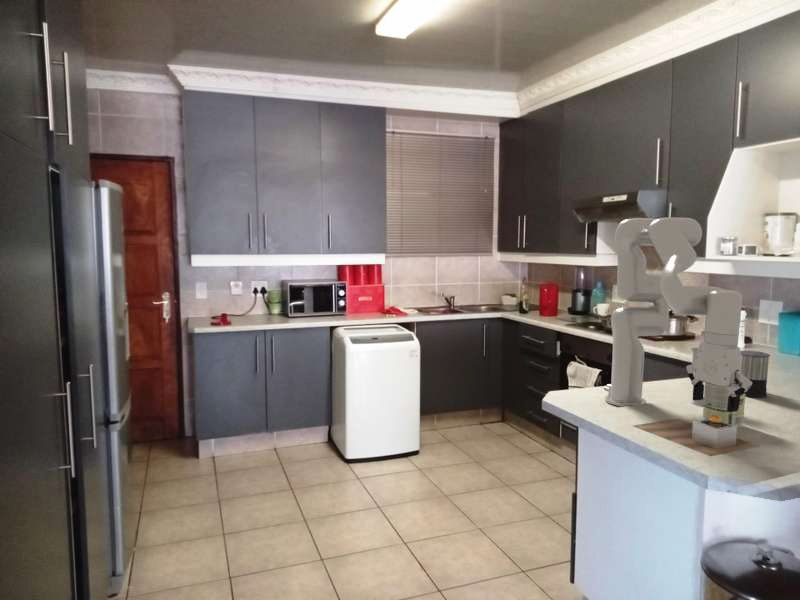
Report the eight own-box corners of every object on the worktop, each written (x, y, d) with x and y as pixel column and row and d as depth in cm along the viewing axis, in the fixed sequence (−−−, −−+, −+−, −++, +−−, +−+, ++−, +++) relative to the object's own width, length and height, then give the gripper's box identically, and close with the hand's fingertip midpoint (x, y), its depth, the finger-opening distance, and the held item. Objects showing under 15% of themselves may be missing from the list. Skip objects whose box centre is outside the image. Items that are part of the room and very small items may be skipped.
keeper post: (705, 441, 143) (707, 413, 143) (712, 440, 144) (714, 412, 144) (715, 445, 141) (717, 416, 140) (722, 443, 142) (724, 415, 141)
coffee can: (706, 419, 167) (709, 372, 166) (746, 426, 160) (750, 378, 159) (697, 427, 160) (700, 378, 158) (738, 435, 153) (742, 385, 151)
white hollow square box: (691, 439, 145) (692, 421, 144) (710, 436, 147) (711, 418, 147) (716, 449, 138) (718, 429, 138) (735, 445, 141) (737, 426, 140)
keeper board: (632, 430, 156) (632, 425, 155) (678, 423, 163) (678, 418, 163) (710, 462, 134) (710, 455, 134) (759, 451, 141) (760, 445, 141)
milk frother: (771, 399, 190) (775, 356, 189) (720, 396, 194) (723, 353, 192) (754, 388, 204) (758, 348, 203) (707, 385, 208) (710, 346, 206)
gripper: (680, 334, 146) (675, 397, 149) (743, 347, 131) (736, 418, 133) (700, 332, 149) (695, 394, 152) (764, 345, 134) (757, 414, 136)
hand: (714, 405), depth 142 cm, fingers open, 9 cm apart
